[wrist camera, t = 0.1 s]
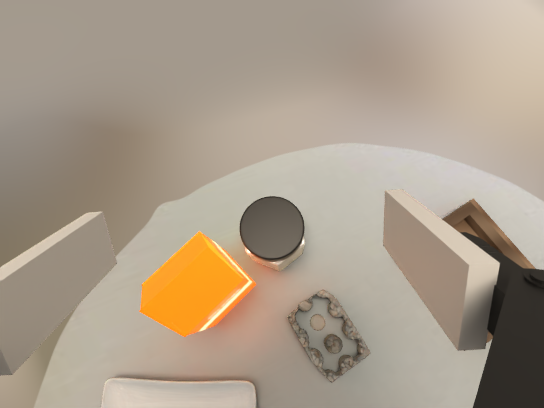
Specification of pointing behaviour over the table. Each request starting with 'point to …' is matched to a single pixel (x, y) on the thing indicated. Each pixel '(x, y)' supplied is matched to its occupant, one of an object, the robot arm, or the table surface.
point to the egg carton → (330, 336)
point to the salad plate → (177, 394)
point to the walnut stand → (485, 233)
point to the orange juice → (194, 287)
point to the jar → (273, 232)
